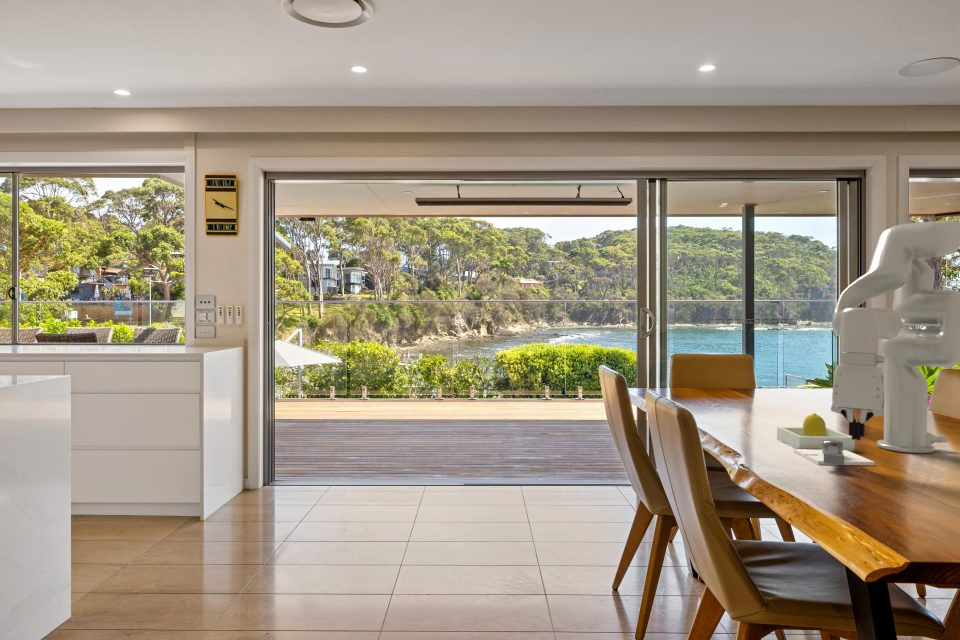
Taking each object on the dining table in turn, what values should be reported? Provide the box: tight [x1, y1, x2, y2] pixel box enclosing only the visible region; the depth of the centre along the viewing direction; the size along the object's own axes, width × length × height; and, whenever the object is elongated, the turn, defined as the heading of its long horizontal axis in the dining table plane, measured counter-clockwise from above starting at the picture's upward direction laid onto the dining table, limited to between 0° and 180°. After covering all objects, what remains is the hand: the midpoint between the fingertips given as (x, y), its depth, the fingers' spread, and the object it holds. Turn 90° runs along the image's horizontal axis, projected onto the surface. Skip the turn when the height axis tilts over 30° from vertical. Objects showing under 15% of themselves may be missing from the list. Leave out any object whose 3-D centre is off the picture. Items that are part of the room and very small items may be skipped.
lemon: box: [802, 412, 827, 436], centre depth 171 cm, size 6×6×8 cm
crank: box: [822, 440, 845, 466], centre depth 150 cm, size 17×4×3 cm, turn 152°
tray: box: [776, 426, 856, 452], centre depth 172 cm, size 14×14×4 cm
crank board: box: [793, 448, 876, 466], centre depth 156 cm, size 13×13×1 cm
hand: (856, 439), depth 147 cm, fingers closed
